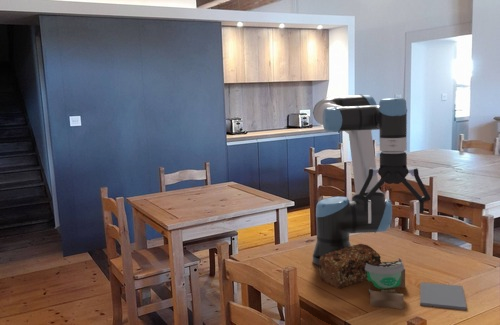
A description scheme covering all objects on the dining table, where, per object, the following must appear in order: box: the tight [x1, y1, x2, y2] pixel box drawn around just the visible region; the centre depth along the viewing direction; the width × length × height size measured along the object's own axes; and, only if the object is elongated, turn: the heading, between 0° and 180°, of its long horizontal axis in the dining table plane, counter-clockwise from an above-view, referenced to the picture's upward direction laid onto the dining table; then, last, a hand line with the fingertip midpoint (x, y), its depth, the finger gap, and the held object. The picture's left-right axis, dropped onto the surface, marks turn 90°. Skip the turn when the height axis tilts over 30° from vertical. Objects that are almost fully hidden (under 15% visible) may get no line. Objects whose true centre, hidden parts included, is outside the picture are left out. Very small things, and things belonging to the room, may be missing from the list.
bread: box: [318, 243, 382, 289], centre depth 153 cm, size 19×11×10 cm, turn 117°
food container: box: [365, 257, 405, 295], centre depth 138 cm, size 12×6×10 cm, turn 105°
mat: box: [419, 281, 468, 311], centre depth 136 cm, size 12×15×1 cm
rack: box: [369, 267, 406, 310], centre depth 138 cm, size 9×16×6 cm, turn 160°
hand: (393, 223), depth 137 cm, fingers open, 13 cm apart
